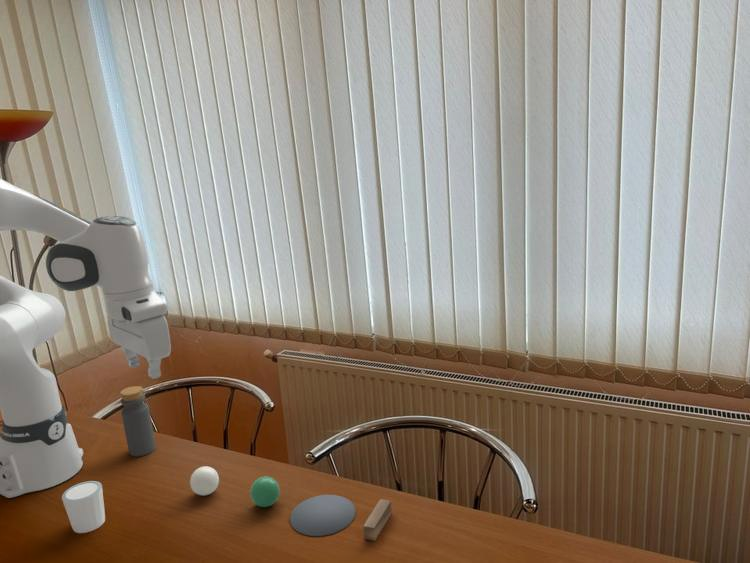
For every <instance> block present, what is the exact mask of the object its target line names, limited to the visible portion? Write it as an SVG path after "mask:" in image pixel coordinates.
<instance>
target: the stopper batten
mask: <svg viewBox="0 0 750 563" xmlns="http://www.w3.org/2000/svg"><path fill="white" fill-rule="evenodd" d="M392 511H393V510H392V501H391V500H388V499H383V498H380V499H379V500H378V502H377V504H376V505H375V507H374V508H373V510H372V512H371V513H370V515H369V516H368V518H367V519H366V521H365V523H364V524H363V526H362V527H363V538H364V539H365V540H369V541H375V542H376V541H377V539H378V537H379V535H380V534H381V532H382V530H383V529H384V527H385V525H386V523H387V522H388V520H389V518H390V517H391V515H392V513H393V512H392Z"/></svg>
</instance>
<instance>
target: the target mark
mask: <svg viewBox="0 0 750 563" xmlns="http://www.w3.org/2000/svg"><path fill="white" fill-rule="evenodd" d="M355 516H356V507H355V505H354V503H353V502H352V501H351V500H350V499H348V498H346V497H344V496H341V495H338V494H321V495H316V496H312V497H310V498H307V499H305V500H303V501H301V502H300V503H298V504H297V505H296V506H295V507H294V508H293V510H292V511H291V512H290V516H289V521H290V526H291V528H292V529H294V530H295V531H296V533H297V532H298V533H299V534H302V535H304V536H310V537H323V536H324V537H325V536H329V535H334V534H336V533H339V532H340V531H342V530H344V529H346V528H347V527H348V526H350V524H352V522H353V521H354V519H355Z"/></svg>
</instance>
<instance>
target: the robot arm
mask: <svg viewBox="0 0 750 563" xmlns="http://www.w3.org/2000/svg"><path fill="white" fill-rule="evenodd" d="M0 231H26V232H27V231H28V232H35V233H38V234H43V235H46V236H47V237H49V238H51V239H54V240H55V241H57V242H58V243H57V244H54V245H53V246H51V247H50V248H49V250H48V252H47V254H46V258H45V267H46V272H47V274H48V277H49V278H50V279H51V281H52V282H53V283H54V284H55V285H56V286H57V287H59V288H60V289H62V290H64V291H67V292H78V291H83V290H87V289H89V288H92V287H95V286H97V287H100V288H101V292H102V296H103V302H104V306H105V307H104V308H105V312H106V316H107V317H106V318H107V319H106V320H107V325H108V326H107V327H108V332H109V337H110V339H111V340H112V343H114V344H116V345H118V346H120V347H121V349H122V351H123V353H124V354H123V355H124V356H125V357H126V361H127V364H128V366H129V367H130V368H132V369H135V368H138V367H140V365H141V362H140V357H138V355H140V356H142V357H143V358H145V359H146V361H147V363H148V368H147V374H148V377H149V378H151V379H153V380H154V379H157V378H160V377H161V376H162V372H161V363H162V359H164V358H167V357H170V355H171V352H172V351H171V350H172V344H171V336H170V330H169V329H170V328H169V324H168V320H167V318H166V316H165V315H167V314H168V306H167V304H166V302H165V301H164V300H162V299H161V297H160V296H159V295H158V293H157V292H156V290H155V288H154V284H153V280H152V278H151V276H150V274H149V257H148V252H147V247H146V244H145V240H144V236H143V233H142V231H141V228H140V226H139V225H138V223H137V222H136V221H135V220H134V219H132V218H130V217H127V216H126V217H125V216H119V215H118V216H116V215H115V216H114V215H113V216H112V215H111V216H109V215H108V216H102V217H97V218H95V219H93V220H92V221H89V220H87V219H85V218H83V217H81V216H79V215H77V214H75V213H74V212H71V211H69V210H67V209H65V208H64V207H61V206H59V205H57V204H56V203H53V202H52V201H49V200H47V199H45V198H42V197H40V196H38V195H36V194H33V193H31V192H29V191H27V190H25V189H22V188H20V187H18V186H16V185H13V184H12V183H10V182H9V181H6V180H4V179H2V178H0ZM66 314H67V313H66V310H65V308H64V305H63V303H62V302H61V301H60V300H59V299H58V298H57V297H56V296H54V295H53V294H50V293H45V292H40V291H39V292H38V291H35V290H33V289H32V290H31V289H30V288H27V287H25V286H23V285H20V284H18V283H16V282H14V281H12V280H10V279H8V278H7V277H4V275H1V274H0V413H1V415H2V420H1V421H0V428H1V432H0V495H1V496H4V497H5V498H8V499H10V498H11V499H12V498H16V497H18V496H22V495H25V494H27V493H33V492H37V491H42V490H46V489H49V488H52V487H55V486H57V485H59V484H62V483H63V482H66V481H67V480H69V479H71V478H72V477H74V476H75V475H76V474H77V473H79V472H80V470H81V468H82V467H83V464H84V462H83V460H82V458H83V456H84V450H83V448H82V447H79V446H78V443H77V439H76V436H75V434H74V430H73V428H72V425H71V424H70V423H68V417H67V412H66V409H65V407H64V405H62V402H61V397H60V392H59V387H58V383H57V379H56V376H55V374H54V373H53V372H52V371H51V370H49V369H46V368H44V367H40V365H39V364H38V362H37V361H36V359H35V358H34V354H33V350H34V349H35V348H37V347H39V346H41V345H43V344H45V343H46V342H48V341H50V340H51V339H53V337H54V336H56V334H57V333H59V331H60V330H61V329H62V328H63V327H64V325H65V323H66V320H67V318H66V316H67V315H66Z"/></svg>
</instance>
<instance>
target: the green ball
mask: <svg viewBox="0 0 750 563" xmlns="http://www.w3.org/2000/svg"><path fill="white" fill-rule="evenodd" d="M280 489H281V488H280V485H279V483H278V482H277V480H275V478H273V477H270V476H265V475H264V476H260V477H259V478H257V479H256V480H255V481H254V482H253V483H252V485H251V487H250V492H249V495H250V499H251V501H252V502H253V504H255V506H258V507H259V508H261V507H262V508H268V507H270V506H273V505H274V504H275V503H276V502H277V500H278V499H279V496H280Z"/></svg>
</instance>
